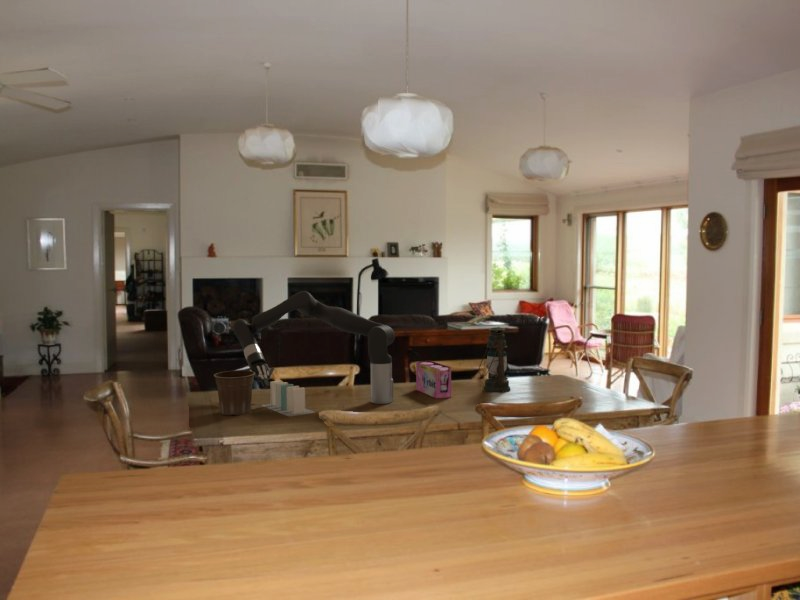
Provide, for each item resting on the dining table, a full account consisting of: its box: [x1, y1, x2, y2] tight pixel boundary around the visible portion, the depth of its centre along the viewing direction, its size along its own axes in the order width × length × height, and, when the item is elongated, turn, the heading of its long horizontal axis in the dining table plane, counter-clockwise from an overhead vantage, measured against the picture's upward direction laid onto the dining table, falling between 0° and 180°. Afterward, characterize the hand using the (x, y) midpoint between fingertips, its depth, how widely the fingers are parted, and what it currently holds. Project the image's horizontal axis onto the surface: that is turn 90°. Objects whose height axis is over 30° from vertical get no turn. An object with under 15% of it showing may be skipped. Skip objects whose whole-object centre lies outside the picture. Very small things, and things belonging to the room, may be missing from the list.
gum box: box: [415, 360, 452, 399], centre depth 315 cm, size 24×8×14 cm, turn 22°
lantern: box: [477, 326, 511, 394], centre depth 321 cm, size 19×14×30 cm
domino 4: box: [292, 387, 306, 414], centre depth 276 cm, size 2×5×10 cm, turn 126°
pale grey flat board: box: [260, 403, 316, 418], centre depth 284 cm, size 26×12×1 cm, turn 36°
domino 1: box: [269, 380, 284, 406], centre depth 292 cm, size 2×5×10 cm, turn 126°
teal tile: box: [281, 383, 295, 410], centre depth 284 cm, size 2×5×10 cm, turn 126°
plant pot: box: [213, 369, 255, 416], centre depth 279 cm, size 16×16×16 cm
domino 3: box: [286, 385, 300, 412], centre depth 280 cm, size 2×5×10 cm, turn 126°
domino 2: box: [275, 381, 289, 408], centre depth 288 cm, size 2×5×10 cm, turn 126°
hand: (266, 387), depth 299 cm, fingers closed
